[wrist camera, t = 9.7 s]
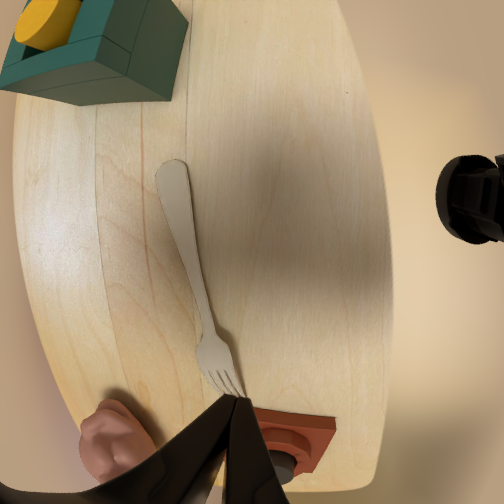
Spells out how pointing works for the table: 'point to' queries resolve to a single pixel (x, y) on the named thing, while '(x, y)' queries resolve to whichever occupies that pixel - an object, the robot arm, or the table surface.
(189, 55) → the table surface
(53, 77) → the green push button box
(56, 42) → the cylinder
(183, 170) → the fork
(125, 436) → the figurine
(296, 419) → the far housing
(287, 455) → the far button
